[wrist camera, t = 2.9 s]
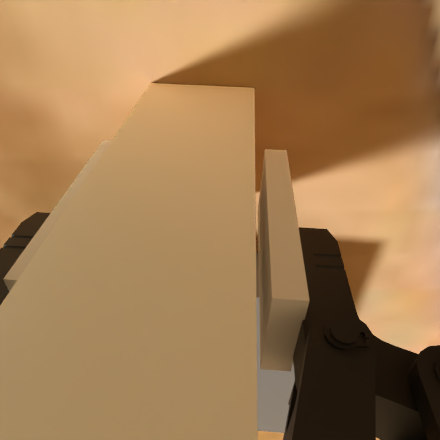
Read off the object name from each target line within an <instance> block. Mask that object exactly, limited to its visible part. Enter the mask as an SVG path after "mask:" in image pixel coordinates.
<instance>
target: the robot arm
mask: <svg viewBox="0 0 440 440" xmlns="http://www.w3.org/2000/svg"><path fill="white" fill-rule="evenodd" d="M110 142H111V141H106V140H103V141H102V142H101V144H100V145H99V147H98V148H97V149H96V151H95V152H94V154H93V155H92V156H91V158H90V159H89V161H88V162H87V163H86V165H85V166H84V167H83V169H82V170H81V172H80V173H79V174H78V176H77V177H76V179H75V180H74V181H73V183H72V184H71V186H70V187H69V188H68V190H67V191H66V193H65V194H64V195H63V197H62V198H61V199H60V201H59V202H58V204H57V205H56V206H55V208H54V209H53V211H52V212H51V213H41V212H36V213H35V214H33V215H32V216H31V217H29V218H28V219H26V220H25V221H23V222H22V223H21V224H20V225H19V226H18V228H17V229H16V230H15V231H14V233H13V234H12V237H11V238H9V239H8V240H7V241H6V243H5V244H4V247H3V248H1V249H0V305H1V304H2V302H3V301H4V299H5V298H6V296H7V295H8V293H9V292H10V290H11V289H12V287H13V286H14V284H15V283H16V282H17V280H18V279H19V277H20V276H21V274H22V273H23V271H24V270H25V268H26V267H27V265H28V264H29V262H30V261H31V259H32V258H33V256H34V255H35V253H36V252H37V250H38V249H39V247H40V246H41V245H42V243H43V242H44V240H45V239H46V237H47V236H48V234H49V233H50V231H51V230H52V228H53V227H54V225H55V224H56V222H57V221H58V219H59V218H60V216H61V215H62V213H63V212H64V210H65V209H66V208H67V206H68V205H69V203H70V202H71V200H72V199H73V197H74V196H75V194H76V193H77V191H78V190H79V188H80V187H81V185H82V184H83V182H84V181H85V179H86V178H87V176H88V175H89V173H90V172H91V171H92V169H93V168H94V166H95V165H96V163H97V162H98V160H99V159H100V157H101V156H102V154H103V153H104V151H105V150H106V148H107V147H108V145H109V144H110ZM258 254H259V319H260V369H264V370H277V371H290V372H291V368H292V365H293V364H294V375H295V382H294V385H293V389H292V392H291V395H290V399H289V402H288V405H289V410H288V416H287V421H286V427H285V432H284V438H283V440H376V437H377V438H379V439H380V440H440V345H438V346H429V347H427V348H426V349H424V350H423V351H421V352H420V353H419V354H416V353H413V352H411V351H408V350H405V349H402V348H399V347H396V346H394V345H391V344H389V343H386V342H384V341H382V340H380V339H379V338H377V337H376V336H374V335H373V334H372V333H371V331H370V330H369V328H368V327H367V325H366V324H365V323H363V322H362V321H361V320H360V319H359V317H358V315H357V312H356V309H355V305H354V301H353V298H352V294H351V290H350V287H349V283H348V279H347V276H346V272H345V270H344V264H343V261H342V258H341V253H340V250H339V246H338V242H337V241H336V239H335V238H334V237H333V236H332V235H331V234H330V232H329V231H328V230H327V229H315V228H299V227H298V221H297V215H296V208H295V201H294V195H293V188H292V182H291V175H290V168H289V162H288V155H287V150H274V149H265V151H264V160H263V169H262V178H261V188H260V197H259V206H258Z"/></svg>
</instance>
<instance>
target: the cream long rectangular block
mask: <svg viewBox="0 0 440 440" xmlns="http://www.w3.org/2000/svg"><path fill="white" fill-rule="evenodd" d="M0 440H258V434H257V315H256V197H255V88H249V87H227V86H206V85H184V84H163V83H150V85H149V86H148V88H147V89H146V91H145V92H144V94H143V95H142V97H141V98H140V99H139V101H138V102H137V104H136V105H135V107H134V108H133V110H132V111H131V113H130V114H129V116H128V117H127V119H126V120H125V122H124V123H123V125H122V126H121V128H120V129H119V131H118V132H117V134H116V135H115V136H114V138H113V139H112V141H111V142H110V144H109V145H108V147H107V148H106V150H105V151H104V153H103V154H102V156H101V157H100V159H99V160H98V162H97V163H96V165H95V166H94V168H93V169H92V171H91V172H90V173H89V175H88V176H87V178H86V179H85V181H84V182H83V184H82V185H81V187H80V188H79V190H78V191H77V193H76V194H75V196H74V197H73V199H72V200H71V202H70V203H69V205H68V206H67V208H66V209H65V210H64V212H63V213H62V215H61V216H60V218H59V219H58V221H57V222H56V224H55V225H54V227H53V228H52V230H51V231H50V233H49V234H48V236H47V237H46V239H45V240H44V242H43V243H42V245H41V246H40V247H39V249H38V250H37V252H36V253H35V255H34V256H33V258H32V259H31V261H30V262H29V264H28V265H27V267H26V268H25V270H24V271H23V273H22V274H21V276H20V277H19V279H18V280H17V282H16V283H15V284H14V286H13V287H12V289H11V290H10V292H9V293H8V295H7V296H6V298H5V299H4V301H3V302H2V304H1V305H0Z"/></svg>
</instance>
